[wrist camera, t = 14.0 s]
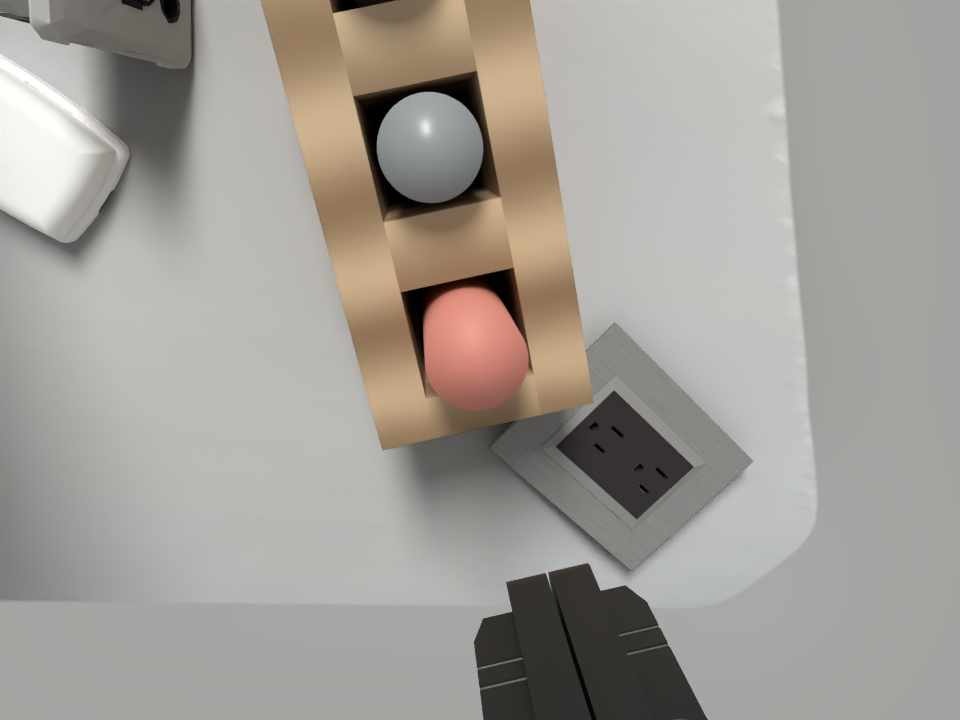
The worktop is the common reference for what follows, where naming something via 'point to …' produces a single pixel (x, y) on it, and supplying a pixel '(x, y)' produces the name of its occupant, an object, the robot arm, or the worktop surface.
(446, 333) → the salmon pink plug
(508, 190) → the socket block
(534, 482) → the electrical outlet
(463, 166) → the grey plug middle
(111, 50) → the electrical switch
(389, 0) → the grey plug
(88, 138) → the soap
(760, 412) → the worktop surface
